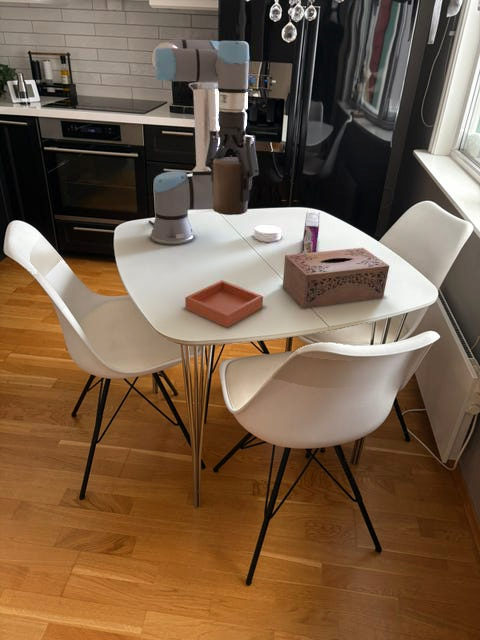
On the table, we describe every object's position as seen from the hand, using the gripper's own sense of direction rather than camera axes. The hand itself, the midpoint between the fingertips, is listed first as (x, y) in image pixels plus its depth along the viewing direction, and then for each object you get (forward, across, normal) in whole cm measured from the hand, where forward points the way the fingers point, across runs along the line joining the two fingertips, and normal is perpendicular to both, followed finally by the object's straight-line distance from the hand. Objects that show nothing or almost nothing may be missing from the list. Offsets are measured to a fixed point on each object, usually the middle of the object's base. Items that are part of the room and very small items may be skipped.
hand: (230, 197), depth 135 cm
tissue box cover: (+26, +27, +16) cm, 41 cm away
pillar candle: (+4, 0, 0) cm, 4 cm away
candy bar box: (+20, +7, +34) cm, 40 cm away
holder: (+26, +10, -14) cm, 31 cm away
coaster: (+26, -15, +40) cm, 49 cm away
